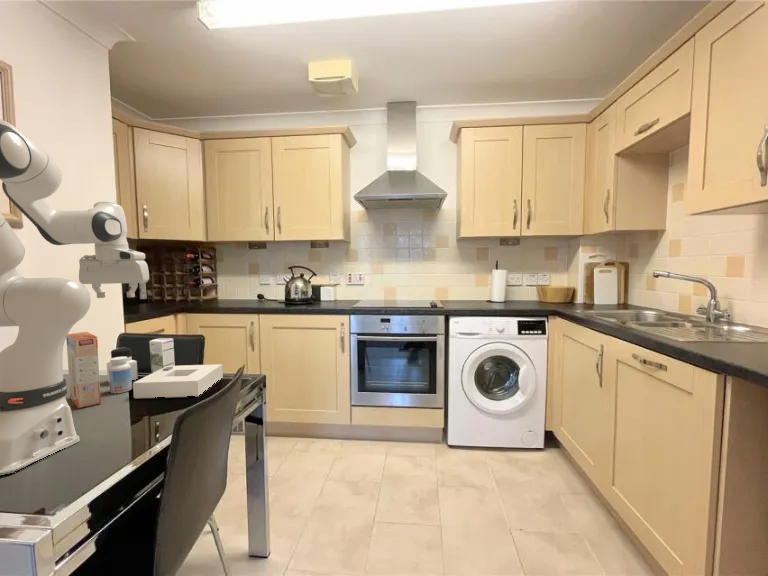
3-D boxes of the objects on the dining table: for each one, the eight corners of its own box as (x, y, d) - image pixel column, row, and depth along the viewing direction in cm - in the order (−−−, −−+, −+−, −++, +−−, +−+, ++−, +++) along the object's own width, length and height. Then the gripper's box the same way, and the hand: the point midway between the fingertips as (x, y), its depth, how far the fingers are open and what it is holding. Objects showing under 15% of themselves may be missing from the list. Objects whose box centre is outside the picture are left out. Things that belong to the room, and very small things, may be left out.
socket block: (198, 396, 120) (197, 378, 119) (133, 398, 119) (132, 381, 118) (222, 377, 140) (222, 362, 139) (167, 379, 139) (166, 364, 138)
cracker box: (102, 403, 115) (98, 335, 113) (77, 409, 110) (72, 338, 109) (93, 393, 124) (88, 330, 123) (69, 398, 120) (64, 333, 119)
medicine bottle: (138, 379, 139) (136, 347, 139) (116, 385, 133) (114, 351, 132) (129, 376, 143) (127, 345, 142) (107, 382, 137) (105, 349, 136)
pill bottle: (136, 388, 129) (134, 355, 128) (122, 394, 123) (120, 360, 122) (120, 388, 130) (117, 355, 129) (105, 394, 124) (103, 360, 123)
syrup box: (176, 375, 144) (174, 337, 143) (163, 380, 138) (161, 340, 137) (163, 374, 145) (161, 337, 144) (150, 379, 139) (148, 340, 139)
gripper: (71, 255, 117) (75, 299, 119) (138, 254, 118) (142, 297, 119) (86, 255, 124) (90, 297, 125) (150, 254, 124) (153, 295, 126)
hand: (116, 297), depth 122 cm, fingers open, 8 cm apart
